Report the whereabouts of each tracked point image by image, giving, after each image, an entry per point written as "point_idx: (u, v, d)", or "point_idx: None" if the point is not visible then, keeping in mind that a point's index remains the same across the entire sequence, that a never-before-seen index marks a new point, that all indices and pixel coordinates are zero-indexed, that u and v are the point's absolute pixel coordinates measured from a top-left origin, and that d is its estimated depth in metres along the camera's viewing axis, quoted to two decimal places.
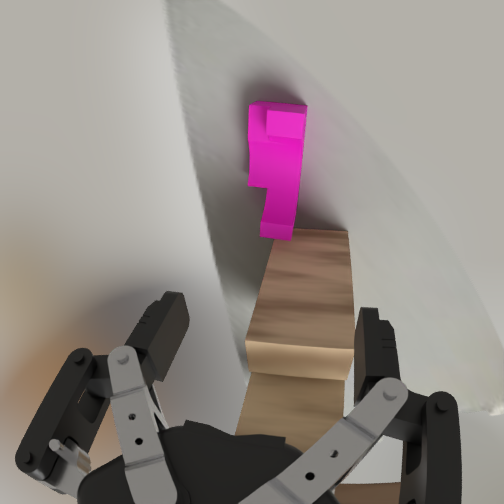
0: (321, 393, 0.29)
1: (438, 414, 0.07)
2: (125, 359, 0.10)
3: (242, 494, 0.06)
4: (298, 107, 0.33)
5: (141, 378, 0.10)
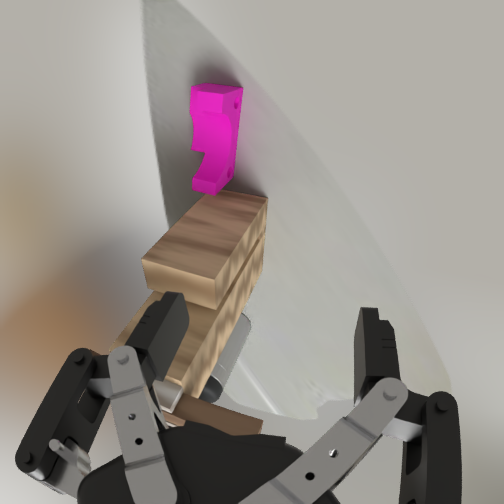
0: (197, 317, 0.39)
1: (438, 414, 0.07)
2: (125, 359, 0.10)
3: (242, 494, 0.06)
4: (230, 89, 0.40)
5: (141, 378, 0.10)
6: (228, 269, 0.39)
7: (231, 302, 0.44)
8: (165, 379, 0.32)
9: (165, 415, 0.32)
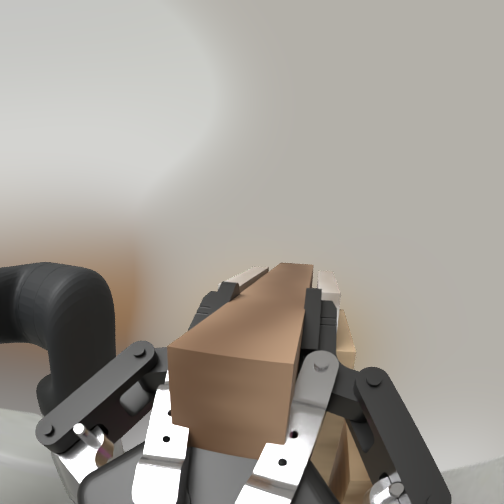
0: None
1: (367, 389, 0.09)
2: None
3: None
4: None
5: None
6: None
7: None
8: None
9: (286, 286, 0.18)
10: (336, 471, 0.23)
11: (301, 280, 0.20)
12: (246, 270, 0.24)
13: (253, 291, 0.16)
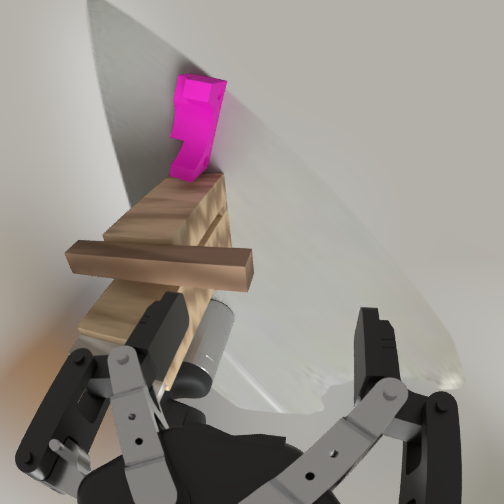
0: (162, 286, 0.38)
1: (438, 414, 0.07)
2: (125, 359, 0.10)
3: (242, 494, 0.06)
4: (216, 80, 0.40)
5: (141, 378, 0.10)
6: (187, 232, 0.39)
7: None
8: None
9: (151, 269, 0.33)
10: None
11: (130, 262, 0.33)
12: None
13: (172, 281, 0.34)
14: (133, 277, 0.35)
